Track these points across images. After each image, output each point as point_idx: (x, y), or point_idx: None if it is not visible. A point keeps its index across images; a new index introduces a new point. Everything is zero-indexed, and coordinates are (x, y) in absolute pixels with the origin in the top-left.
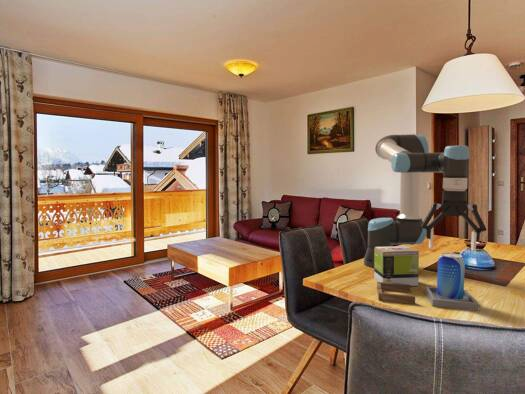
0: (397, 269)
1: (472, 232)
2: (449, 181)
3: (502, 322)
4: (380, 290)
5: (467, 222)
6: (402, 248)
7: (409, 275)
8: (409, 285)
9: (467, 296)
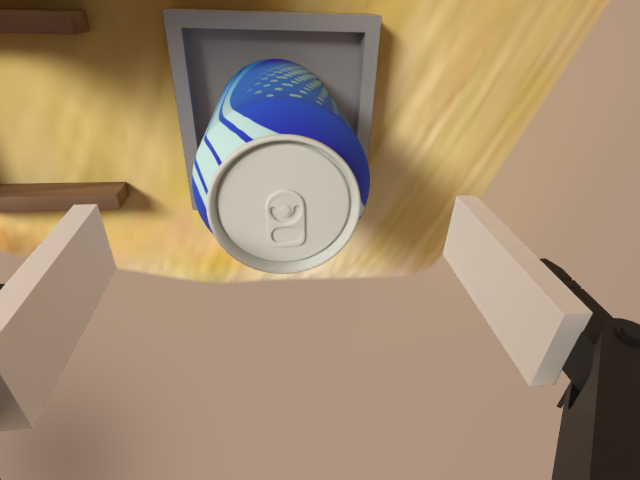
0: None
1: (548, 329)
2: None
3: (393, 262)
4: None
5: (589, 456)
6: None
7: None
8: (67, 28)
9: (358, 96)
